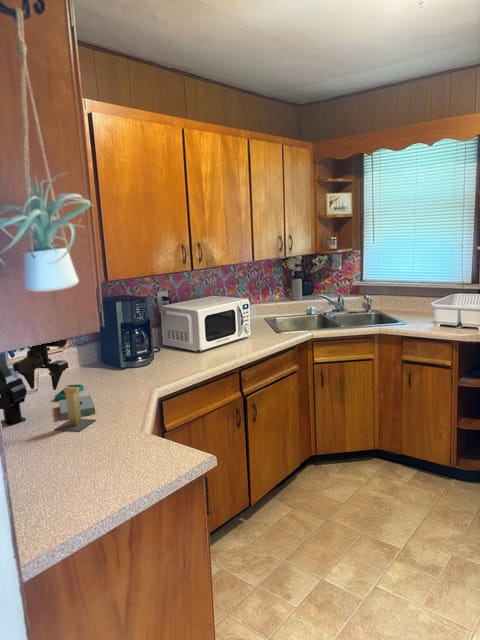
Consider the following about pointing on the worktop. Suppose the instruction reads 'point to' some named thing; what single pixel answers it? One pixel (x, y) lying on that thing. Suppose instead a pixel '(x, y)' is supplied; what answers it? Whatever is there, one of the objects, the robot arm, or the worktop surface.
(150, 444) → the worktop surface
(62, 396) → the digital multimeter
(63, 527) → the worktop surface
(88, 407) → the block
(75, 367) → the worktop surface
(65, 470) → the worktop surface
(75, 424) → the brass key
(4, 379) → the robot arm
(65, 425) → the rubber mat
